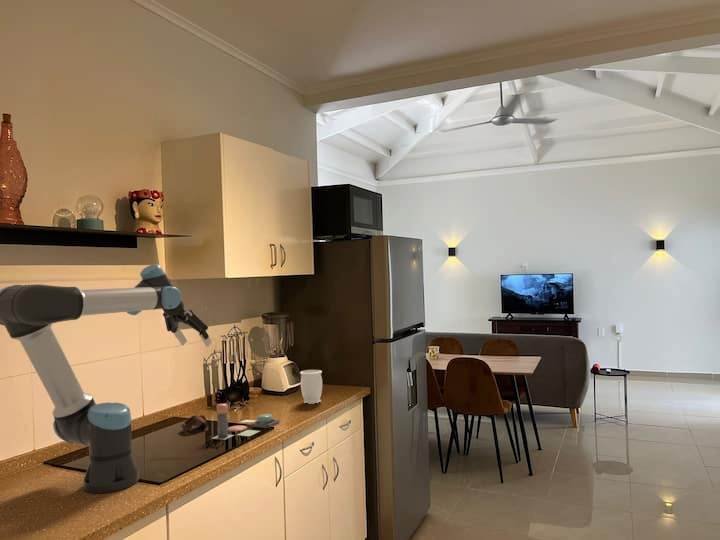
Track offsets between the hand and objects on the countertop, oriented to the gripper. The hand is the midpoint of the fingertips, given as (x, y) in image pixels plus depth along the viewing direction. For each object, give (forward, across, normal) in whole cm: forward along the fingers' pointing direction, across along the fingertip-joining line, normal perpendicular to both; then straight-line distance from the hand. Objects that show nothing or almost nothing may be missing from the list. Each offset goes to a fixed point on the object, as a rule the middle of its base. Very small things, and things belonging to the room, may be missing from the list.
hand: (196, 343), depth 210 cm
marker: (+27, -14, +21) cm, 37 cm away
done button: (+37, -18, +4) cm, 42 cm away
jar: (+66, -10, -30) cm, 73 cm away
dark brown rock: (+31, +3, +19) cm, 36 cm away
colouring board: (+34, -15, +14) cm, 40 cm away
